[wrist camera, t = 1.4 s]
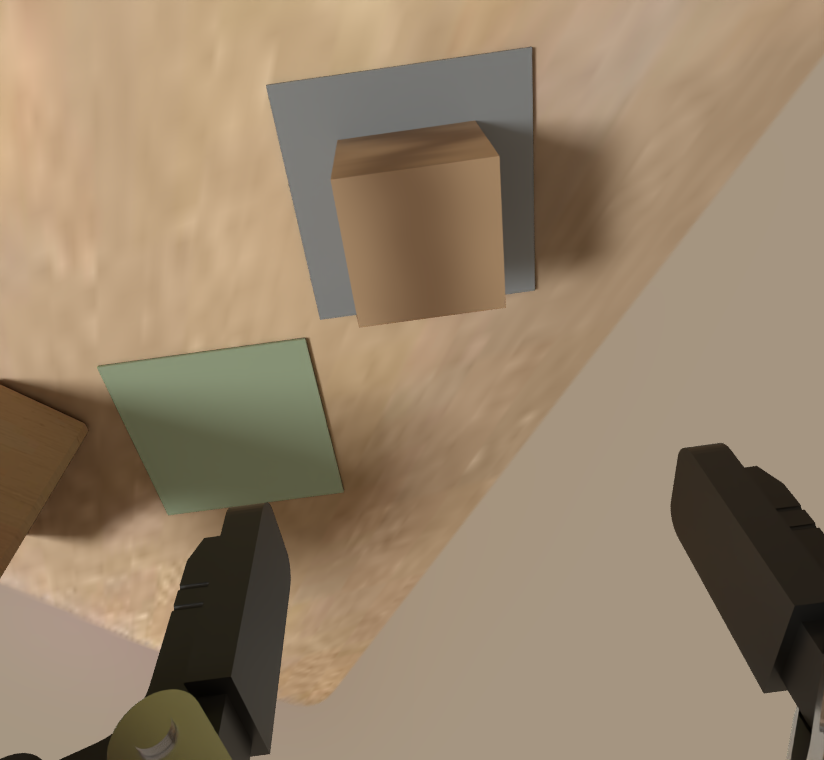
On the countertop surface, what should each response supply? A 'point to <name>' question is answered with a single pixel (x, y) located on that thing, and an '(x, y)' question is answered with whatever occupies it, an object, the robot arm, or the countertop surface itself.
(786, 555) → the robot arm
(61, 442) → the decorative block
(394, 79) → the tile
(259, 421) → the mat
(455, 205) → the walnut block
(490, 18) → the countertop surface
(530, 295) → the countertop surface
